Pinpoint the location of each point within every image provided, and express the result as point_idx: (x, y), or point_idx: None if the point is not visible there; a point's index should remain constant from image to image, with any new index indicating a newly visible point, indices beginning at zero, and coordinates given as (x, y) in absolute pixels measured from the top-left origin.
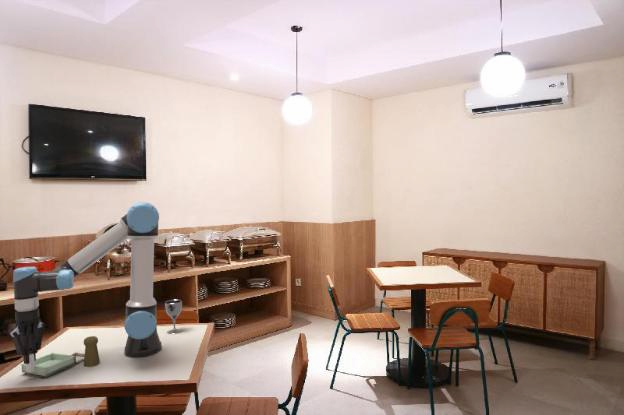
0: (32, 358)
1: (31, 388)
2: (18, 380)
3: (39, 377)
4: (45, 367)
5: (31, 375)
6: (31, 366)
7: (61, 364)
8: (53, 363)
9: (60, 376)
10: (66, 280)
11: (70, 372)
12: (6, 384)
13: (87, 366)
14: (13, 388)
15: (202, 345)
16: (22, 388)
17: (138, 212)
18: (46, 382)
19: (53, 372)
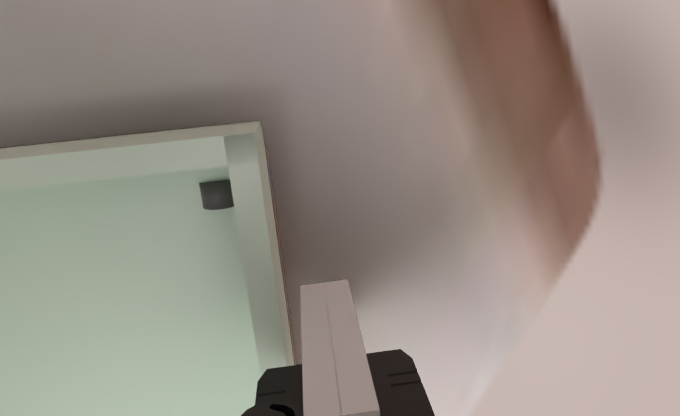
0: (331, 371)
1: (483, 14)
2: (403, 344)
3: (276, 219)
4: (237, 164)
5: (291, 332)
6: (344, 312)
7: (15, 152)
8: (23, 368)
9: (140, 26)
10: None
11: (6, 26)
12: (503, 351)
13: None
14: (542, 197)
15: None
16: (514, 110)
17: None
18: (318, 14)
19: (159, 133)
